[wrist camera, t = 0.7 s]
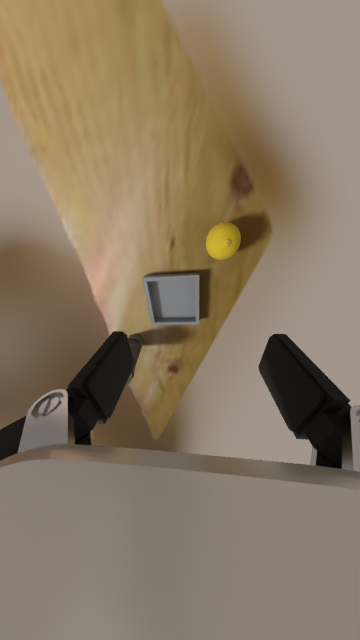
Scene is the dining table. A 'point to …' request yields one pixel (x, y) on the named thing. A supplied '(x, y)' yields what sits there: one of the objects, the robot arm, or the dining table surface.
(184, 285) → the tray
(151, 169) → the dining table surface
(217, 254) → the lemon
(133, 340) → the beverage cup
